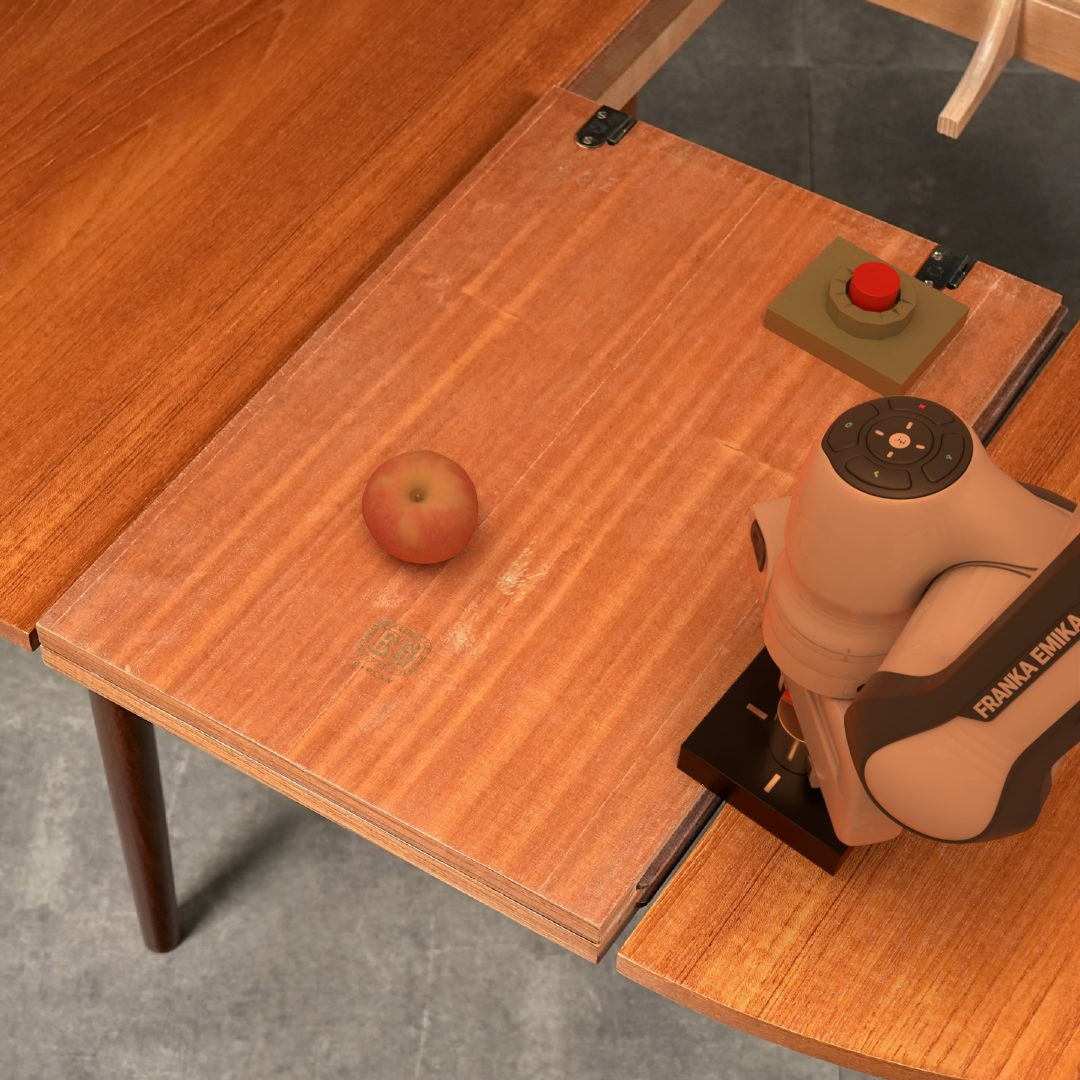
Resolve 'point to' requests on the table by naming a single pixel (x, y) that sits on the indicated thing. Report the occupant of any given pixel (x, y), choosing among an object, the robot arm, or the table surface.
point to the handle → (788, 737)
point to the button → (874, 286)
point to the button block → (865, 322)
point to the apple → (421, 507)
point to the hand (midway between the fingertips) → (806, 735)
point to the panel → (760, 767)
